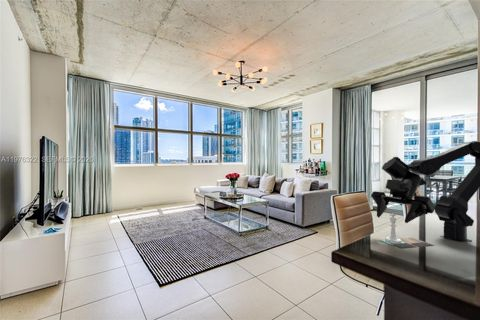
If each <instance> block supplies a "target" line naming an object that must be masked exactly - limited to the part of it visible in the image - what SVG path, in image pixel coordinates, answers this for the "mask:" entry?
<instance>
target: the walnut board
mask: <svg viewBox="0 0 480 320" xmlns="http://www.w3.org/2000/svg"><path fill="white" fill-rule="evenodd" d="M399 239H400V240H402V241H403V242H405V243H407V244H410V245H412V244H411V243H421V242H426V243H429V244H432V245H433V246H432V247H436V246H437V245H436V244H433V243H430V242H427V241H423V240H421V239H417V238H415V237H402V238H399ZM380 240H381V239H378V241H379V242H381V243H383V244H386V245H388V246H391V247H393V248H396V249H398V250H401V249H402V250H403V249H406V248H398V247H396V246H393V245H390V244H387V243H385V242H382V241H380ZM395 245H397V244H395ZM413 246H415V245H413ZM424 247H428V246H422V247H421V248H424ZM414 248H419V247H418V246H416V247H411V248H410V249H414Z"/></svg>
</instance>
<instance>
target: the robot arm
mask: <svg viewBox="0 0 480 320" xmlns="http://www.w3.org/2000/svg"><path fill="white" fill-rule="evenodd" d="M466 156H470V157H473V158H474V166H473V167H472V168H471V170H470V171H469V172H468V173H467V174H466V176H465V177H464V178H463V180H462V181H461V182H460V183H459V184H458V186H457V187H456V188H455V190H454V191H453V192H452V193H451V194H450V195H448V196H447V195H441V196H440V197H439V198H438V200H437V201H436V202H434V203H433V201H432V199H431V198H430V196H425V195H418V194H417V189H418V188H419V187H421V186H425V185H427V181H426V180H425V179H424V177H421V176H432V175H434V174H435V173H437V172H439V171H440V170H441V168H442V167H443V166H445V165H447V164H449V163H452V162H454V161H456V160H459V159H461V158H464V157H466ZM381 169H382V171H384V172H385V173H387V174H388V175H389V176H390V177H392V178H393V179H387V180H386V184H385V189H387V190H388V191H389V192H388V193H389V194H390V195H391V196H390V195H386V193H385V192H384V191H372V193H371V194H370V196H371V199H373V201H374V203H375V204H376V217H377V218H380V217H382V215H383V214H384V212H385V211H386V210H387V208H388V205H389V204H390V203H394V204H395V203H396V204H399V205H405V206H410V208H409V210H408V212H407V213H406V215H405V218H404V223H405V224H408V223H410V222H412V221H413V220H415V219H417V218H419V217H421V216H423V215H428V214H433V213H435V214H436V216H437V217H438V219H439V221H441V222H443V235H440V236H439V237H440V238H443V239H447V240H451V241H453V242H458V243H463V242H464V243H465V242H469V243H473V240H472V239H468V231H467V230H468V229H467V227H473V225H474V222H475V221H474V219H473V218H472V217H470V216H469V215H468V213H467V212H469V201H470V200H471V199H472V198H473V196H475V194H476V192H478V190H479V189H480V141H477V140H472V141H465V142H464V141H463V142H462V143H460V144H459V145H456V146H454V147H452V148H450V149H447V150H445V151H443V152H440V153H438V154H435V155H433V156H429V157H428V156H427V157H424V158H419V159H415V160H413V161H411V162H410V163H408V164H407V163H405V162H404V161H403V160H402V159H401V158H400V157H399V156H394V157H392V158H391V159H389V160H387V162H385V163H384V164H382V166H381ZM434 204H435V205H434Z"/></svg>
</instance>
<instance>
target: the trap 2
mask: <svg viewBox="0 0 480 320" xmlns="http://www.w3.org/2000/svg"><path fill="white" fill-rule="evenodd" d="M426 242H427V241H424V242H421V243H411V244H412V245H415V246H418V247H417V248H423V247H422V246H427V247H434V246H433V245H434V244H433V243H430V242H427V243H426ZM429 243H430V244H429ZM432 244H433V245H432Z"/></svg>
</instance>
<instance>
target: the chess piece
mask: <svg viewBox="0 0 480 320" xmlns="http://www.w3.org/2000/svg"><path fill="white" fill-rule="evenodd" d="M389 216H391V217H389V220H390V223H389V226H390V227H391V229H390V234H389V236H386V237H385V238H384V239H385V241H387V242H390V243H395V244H401V243H402V240H400V238H399V237H398V236H397V234H396V233H397V232H396V227H397V226H398V225H397V224H396V222H397V218H396V216H397V215H396V214H395V213H394V212H391V214H390V213H389Z"/></svg>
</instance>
